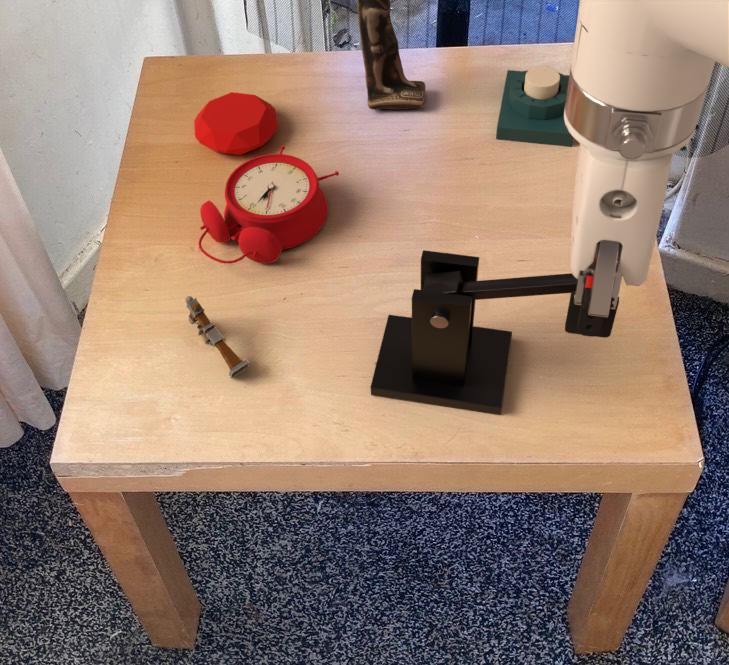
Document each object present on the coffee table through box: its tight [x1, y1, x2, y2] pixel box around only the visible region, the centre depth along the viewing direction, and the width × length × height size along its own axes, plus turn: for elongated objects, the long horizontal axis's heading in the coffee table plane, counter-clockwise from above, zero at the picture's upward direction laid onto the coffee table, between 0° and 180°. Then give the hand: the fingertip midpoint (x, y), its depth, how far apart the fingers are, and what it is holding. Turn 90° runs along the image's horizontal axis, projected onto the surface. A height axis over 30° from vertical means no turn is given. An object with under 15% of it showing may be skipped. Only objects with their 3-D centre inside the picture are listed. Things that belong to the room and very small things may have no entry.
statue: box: [356, 0, 426, 111], centre depth 88 cm, size 4×7×20 cm, turn 89°
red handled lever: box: [423, 258, 596, 301], centre depth 64 cm, size 13×5×2 cm, turn 78°
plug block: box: [495, 69, 574, 147], centre depth 92 cm, size 8×10×4 cm
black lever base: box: [369, 249, 513, 416], centre depth 69 cm, size 11×8×12 cm
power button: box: [524, 65, 560, 100], centre depth 91 cm, size 4×4×2 cm
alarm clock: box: [197, 145, 340, 265], centre depth 83 cm, size 10×6×15 cm
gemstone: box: [193, 91, 279, 156], centre depth 93 cm, size 9×9×3 cm
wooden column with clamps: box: [184, 295, 250, 379], centre depth 75 cm, size 2×8×4 cm, turn 40°
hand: (589, 299), depth 63 cm, fingers closed on red handled lever, 5 cm apart
